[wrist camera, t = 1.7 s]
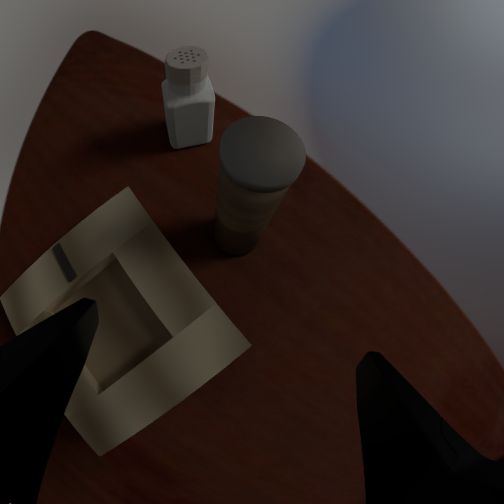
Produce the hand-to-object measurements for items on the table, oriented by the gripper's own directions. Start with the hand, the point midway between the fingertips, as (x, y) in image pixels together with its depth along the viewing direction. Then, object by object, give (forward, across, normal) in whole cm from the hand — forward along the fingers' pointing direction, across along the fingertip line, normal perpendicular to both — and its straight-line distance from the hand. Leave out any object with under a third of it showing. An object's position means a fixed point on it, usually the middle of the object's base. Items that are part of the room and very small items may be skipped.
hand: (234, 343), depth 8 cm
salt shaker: (+22, +7, -3) cm, 23 cm away
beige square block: (+9, +8, +10) cm, 16 cm away
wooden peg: (+15, 0, +4) cm, 16 cm away
